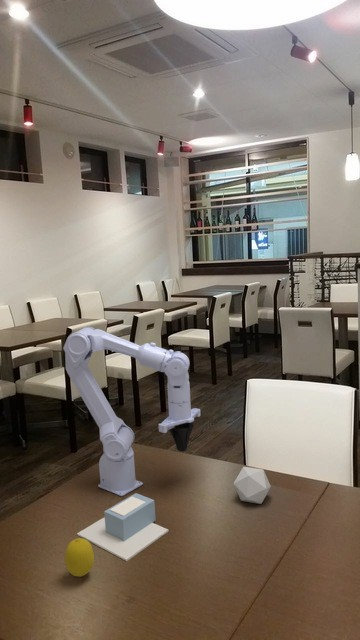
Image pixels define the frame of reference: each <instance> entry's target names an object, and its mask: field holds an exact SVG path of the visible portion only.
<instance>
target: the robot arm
mask: <svg viewBox="0 0 360 640" xmlns="http://www.w3.org/2000/svg"><path fill="white" fill-rule="evenodd" d="M62 348H63V351H64V356H65V360H64V361H65V370H66V373H67V375H68V377H69V378H70V380H71V381H72V383H73V385H74V386H75V388H76V390H77V392H78V394H79V396H80V397H81V399H82V401H83V402H84V404H85V406H86V407H87V409H88V411H89V413H90V415H91V416H92V419H93V420H94V421H95V423H96V425H97V427H98V428H99V440H100V442H101V443H102V446H103V447H102V450H103V453H102V455H101V456H100V458H99V463H98V466H99V467H98V468H99V480H100V483H98V487H99V488H101V489H103V490H106V491H108V492H110V493H113V494H115V495H117V496H120V497H124V496H125V495H127V494H129V493H131V492H132V491H134V490H136V489H137V488H139V487H141V486H143V484H144V483H143V482H142V481H140V480H137V479H136V468H135V453H134V452H135V451H134V450H133V448H132V444H133V443H134V442H135V433H134V431H133V430H132V428H131V427H129V426H128V425H127V424H126V423H125V422H124V420H123V419H122V418H120V417H118V416H117V414H116V412H115V411H114V410H113V408H112V406H111V404H110V402H109V401H108V400H107V398H106V396H105V394H104V392H103V391H102V388H101V387H100V385H99V384H98V382H97V380H96V379H95V376H94V374H92V371H91V369H90V368H89V363H90V360H91V357H92V354H93V353H96V352H101V351H105V350H109V351H112V352H115V353H119V354H121V355H124V356H127V357H128V356H129V357H132V358H134V359H136V361H137V363H138V364H139V365H141V366H143V367H146V368H149V369H152V370H156V371H158V372H160V373H165V376H167V384H166V385H167V386H166V387H167V388H166V389H167V397H168V398H167V403H168V416H167V417H166V418H165V419H164V420H163V421H162V422H161V423H158V432H159V433H163V434H166V433H168V431H169V433H170V435H171V437H172V438H173V441H174V443H175V446H176V450H177V451H179V452H183V453H184V452H186V451H187V449H188V444H189V439H190V436H191V433H192V432H193V429H194V427H195V423H194V421H195V418H197V417H198V418H199V417H201V416H202V415H201V409H200V408H196V407H194V408H192V407H191V405H192V404H191V403H192V402H191V389H190V388H191V387H190V386H191V385H190V381H189V379H190V375H189V371H188V370H189V368H190V366H191V365H190V364H191V363H190V359H189V357H188V355H186V353H183V352H182V351H174V350H173V349H169V350H168V349H165V348H163V347H160V346H157V343H155V342H152V341H151V342H150V343H143V344H142V345H139V344H137V343H135V342H131V341H129V340H127V339H124V338H122V337H119V336H116V335H115V334H111V333H109V332H107V331H105V330H103V329H100V328H96V329H95V328H94V327H91V326H85V327H82V328H80V329H79V330H77V331H76V332H72V333H70V334H69V335H68V337H67V338H66V341H65V343H64V345H63V347H62Z"/></svg>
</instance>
